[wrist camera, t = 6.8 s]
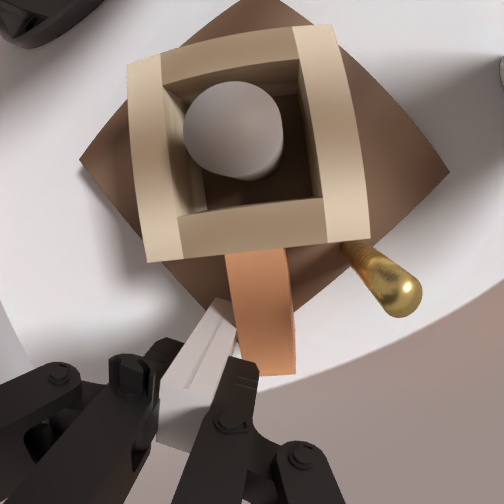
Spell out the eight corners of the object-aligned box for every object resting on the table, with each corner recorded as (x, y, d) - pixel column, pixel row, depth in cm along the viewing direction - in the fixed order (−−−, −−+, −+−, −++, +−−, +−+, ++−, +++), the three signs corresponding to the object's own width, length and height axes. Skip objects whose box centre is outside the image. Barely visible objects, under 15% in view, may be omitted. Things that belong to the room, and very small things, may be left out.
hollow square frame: (164, 92, 13) (126, 65, 9) (322, 65, 12) (332, 24, 8) (201, 335, 15) (176, 376, 11) (352, 323, 14) (370, 364, 10)
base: (90, 160, 15) (14, 155, 9) (261, -2, 12) (247, -72, 6) (247, 339, 16) (225, 412, 10) (439, 173, 13) (512, 167, 7)
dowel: (334, 247, 14) (373, 295, 7) (353, 230, 13) (408, 265, 7) (350, 265, 14) (396, 325, 7) (368, 249, 13) (429, 297, 7)
